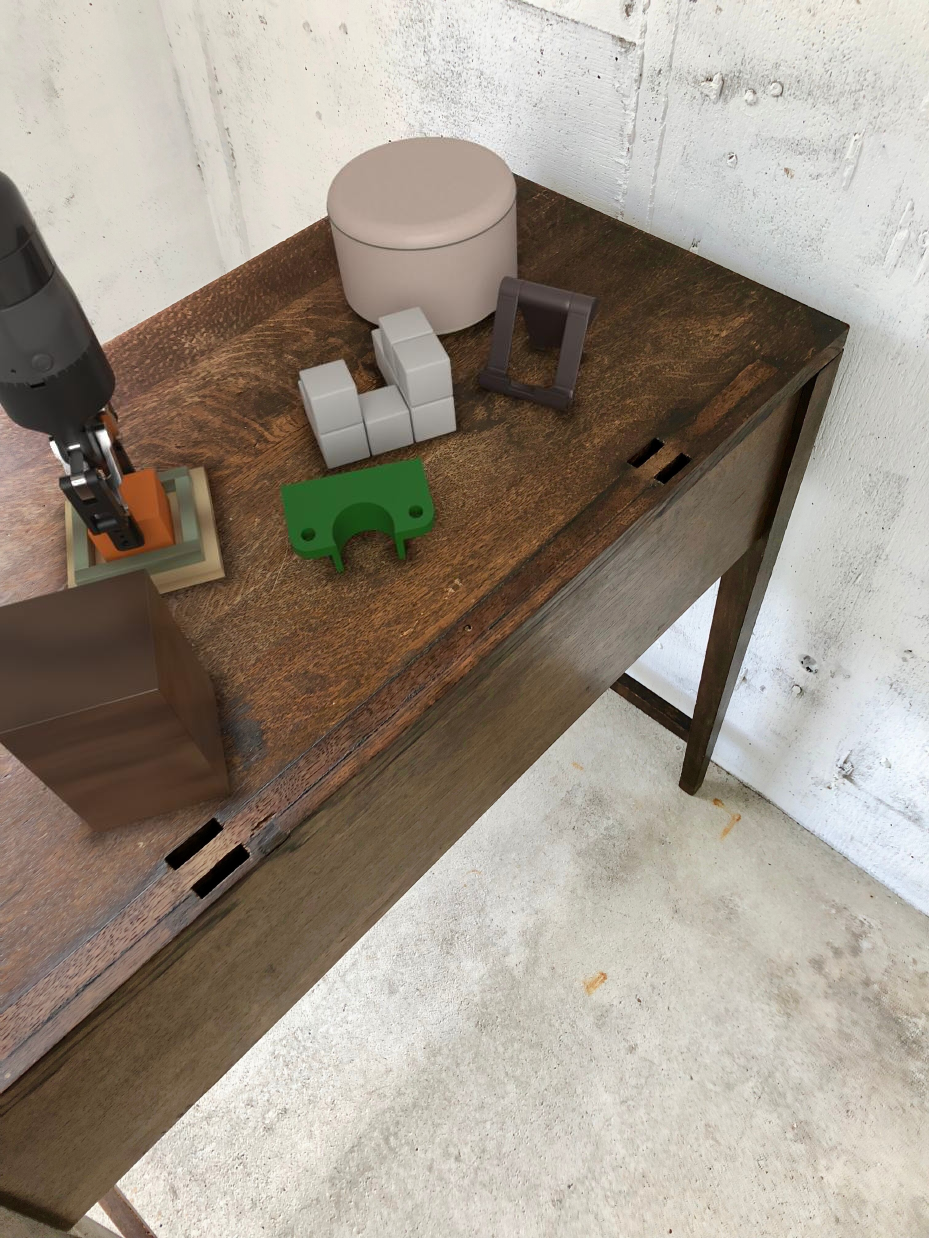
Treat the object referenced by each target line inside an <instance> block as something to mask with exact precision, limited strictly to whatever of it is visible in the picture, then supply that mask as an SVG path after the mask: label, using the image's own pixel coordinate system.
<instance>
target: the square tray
mask: <svg viewBox="0 0 929 1238" xmlns="http://www.w3.org/2000/svg"><path fill="white" fill-rule="evenodd" d="M155 473H156V475H157V477H158V479H159V481H160V483H161V485H162V487H163V489H164V491H165V493H166V495H167V497H168V499H169V501H170V507H171V514H172V521H173V528H174V535H175V542H176V544H175V545H171V546H168V547H164V548H160V549H156V550H152V551H148V552H145V553H141V554H137V555H133V556H129V557H126V558H122V559H118V560H114V561H110V562H107V563H106V561H105V560H104V558H103V556H102V555H101V553H100V552H99V550H98V549H97V547H96V545H95V544H94V542H93V541H92V539H91V538H90V536H89V534H88V527H87V526H86V524H85V523H84V522H83V520H82V519H81V517H80V516H79V514H78V513H77V511H76V510H75V509H74V507H73V506H72V504H71V503H70V501H69V500H68V499H67V500H65V501H64V515H65V517H64V518H65V542H66V544H65V545H66V563H67V564H66V565H67V568H66V569H67V589H69V588H72V587H76V586H80V585H84V584H87V583H91V582H95V581H99V580H103V579H106V578H110V577H114V576H118V575H121V574H125V573H129V572H133V571H136V570H140V569H146V571H147V572H148V574H149V576H150V577H151V579H152V581H153V583H154V584H155V586H156V588H157V589H158V591H159V593H160V595H162V594H166V593H170V592H173V591H177V590H180V589H185V588H188V587H192V586H196V585H199V584H202V583H207V582H211V581H214V580H218V579H221V578H225V577H226V572H225V568H224V567H225V566H224V561H223V556H222V551H221V545H220V539H219V534H218V527H217V523H216V517H215V510H214V505H213V500H212V495H211V487H210V482H209V477H208V473H207V472H206V468H205V467H204V466H198V467H195V468H191V469H189V468H188V466H187V465H183V466H179V467H176V468H171V469H168V470H164V471H159V472H155Z"/></svg>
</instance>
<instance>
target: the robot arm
mask: <svg viewBox="0 0 929 1238" xmlns="http://www.w3.org/2000/svg"><path fill="white" fill-rule="evenodd" d="M116 380H117V379H116V375H115V373H114V370H113V368H112V366H111V364H110V362H109V360H108V358H107V355H106V353H105V352H104V350H103V347H102V345H101V344H100V341H99V339H98V337H97V334H96V333H95V330H94V329H93V327H92V325H91V322H90V321H89V319H88V317H87V314H86V313H85V310H84V308H83V306H82V304H81V302H80V300H79V298H78V295H77V294H76V292H75V290H74V288H73V287H72V285H71V284H70V282H69V281H68V279H67V277H66V276H65V275H64V273H63V272H62V270H61V269H60V267H59V265H58V264H57V262H56V260H55V259H54V256H53V254H52V252H51V250H50V248H49V245H48V244H47V242H46V239H45V238H44V236H43V234H42V231H41V230H40V227H39V226H38V223H37V221H36V219H35V218H34V216H33V213H32V211H31V210H30V207H29V206H28V202H27V201H26V199H25V197H24V195H23V194H22V192H21V190H20V189H19V187H18V186H17V184H16V183H15V181H14V180H13V179H12V178H11V177H10V176H9V175H7V174H6V173H5V172H3V171H2V170H0V406H1V407H2V409H3V410H4V412H5V413H6V415H7V417H8V418H9V419H10V420H11V421H12V422H13V423H14V424H16V425H17V426H19V427H21V428H23V429H26V430H29V431H34V432H38V433H42V434H46V435H48V437H47V438H48V443H49V445H50V448H51V450H52V453H53V455H54V457H55V458H56V459H57V460H58V461H60V462H61V465H62V467H63V469H64V472H65V474H66V475H63V476H60V477H58V486H59V489H60V490H61V491H62V493H63V494H64V496H65V497H66V499H67V501H68V500H69V501H70V503H71V504H72V506H73V507H74V509H75V510H76V511H77V513H78V514H79V516H80V517H81V519H82V520H83V522H84V523H85V524H86V526H87V527H88V529H89V531H90V532H91V533H92V535H93V536H97V535H101V534H102V533H107V534H108V536H109V538H110V539H111V541H112V543H113V544H114V546H115V548H116V549H117V550H118V551H127V550H131V549H135V548H139V547H142V546H144V544H145V538H144V534H143V532H142V531H141V529H140V527H139V525H138V523H137V522H136V520H135V518H134V516H133V514H132V513H131V511H130V507H129V505H128V504H127V502H126V500H125V497H124V495H123V492H122V490H121V487H120V486H121V484H122V482H123V480H124V476H123V475H127V474H131V473H135V472H137V471H136V469H135V467H134V465H133V463H132V461H131V459H130V457H129V455H128V453H127V451H126V449H125V447H124V445H123V444H124V441H123V440H124V437H123V434H122V433H121V432H120V429H119V425H118V424H119V415H118V413H117V412H116V410H115V409H114V407H113V405H112V403H111V399H112V397H113V396H114V393H115V390H116V386H117V385H116V384H117V383H116V382H117V381H116ZM100 471H102V473H101V472H100Z"/></svg>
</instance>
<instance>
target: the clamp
mask: <svg viewBox="0 0 929 1238" xmlns="http://www.w3.org/2000/svg"><path fill="white" fill-rule="evenodd" d="M279 488H280V494H281V500H282V507H283V511H284V516H285V522H286V528H287V533H288V538H289V542H290V545H291V547H292V549H293V551H294V553H295V554H296V555H297V556H298V557H300V558H302V559H305V560H314V559H318V558H324V557H329V556H331V557H332V560H333V563H334V566H335V569H336V572H337V573H341V572H344V571H345V568H344V565H343V561H342V558H341V557H342V550H343V548H344V547H345V544H346V543H347V542H348V541H349V540H350V539H351V538H352V537H353V536H354V535H356V534H359V533H361V532H364V531H365V532H366V531H378V532H382V533H384V534H386V535H388V537H390V538H391V539H392V540H393V541H394V542H395V544H396V551H397V555H398V556H397V557H398V559H399V560H402V559H406V557H407V556H406V549H405V546H404V545H405V544H404V540H408V539H412V538H418V537H422V536H425V535H426V534H428V533H430V532H431V531H432V530H433V528H434V526H435V522H436V518H435V517H436V516H435V508H434V504H433V500H432V496H431V492H430V488H429V485H428V480H427V476H426V472H425V468H424V464H423V460H422V457H416V458H410V459H406V460H402V461H401V460H400V461H397V462H391V463H387V464H382V465H378V466H371V467H367V468H362V469H358V470H354V471H348V472H342V473H339V474H333V475H329V476H324V477H319V478H314V479H310V480H306V481H305V480H304V481H300V482H295V483H290V484H285V485H281V486H279Z"/></svg>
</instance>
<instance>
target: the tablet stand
mask: <svg viewBox="0 0 929 1238" xmlns="http://www.w3.org/2000/svg"><path fill="white" fill-rule="evenodd" d="M519 309H520V312H521V316H522V319H523V322H524V325H525V328H526V332H527V336H528V339H529V341H530V344H531V347H532V348H533V349H534V350H537V351H540V352H544V353H546V351H547V347H550V348H554V349H556V350H557V349H558V350H559V351H560V353H559V357H558V363H557V369H556V373H555V379H554V384H553V387H552V389H549V388H545V387H542V386H539V385H535V386H532V385H529V384H526V383H522V382H519V381H515V380H512V378H510V377H508V372H509V371H508V370H509V363H510V358H511V350H512V345H513V338H514V332H515V327H516V320H517V313H518V310H519ZM598 309H599V299H598V297H595V296H591V295H586V294H583V293H578V292H574V291H570V290H566V289H563V288H557V287H554V286H549V285H546V284H542V283H537V282H533V281H529V280H525V279H521V278H518V277H517V278H513V277H509V276H505V277H504V278H503V279H502V281H501V283H500V287H499V293H498V299H497V306H496V310H495V312H494V313H495V314H494V320H493V328H492V335H491V342H490V348H489V355H488V363H487V367H486V371H485V370H482V369H481V370H479V372H478V386H479V387H480V388H481V389H485V390H489V391H490V392H496V393H499V394H501V395H505V396H509V397H511V398H512V397H513V398H516V399H519V400H523V401H526V402H530V403H533V404H536V405H540V406H543V407H547V408H551V409H553V410H555V411H561V412H564V413H567V412H569V411H570V409H571V407H572V404H573V401H574V396H575V391H576V387H577V383H578V382H577V381H578V376H579V370H580V366H581V363H582V362H581V361H582V357H583V351H584V346H585V341H586V337H587V332H588V328H589V326H590V325H591V324H592V323H593V322H594V321H595V318H596V316H597V313H598Z"/></svg>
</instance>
